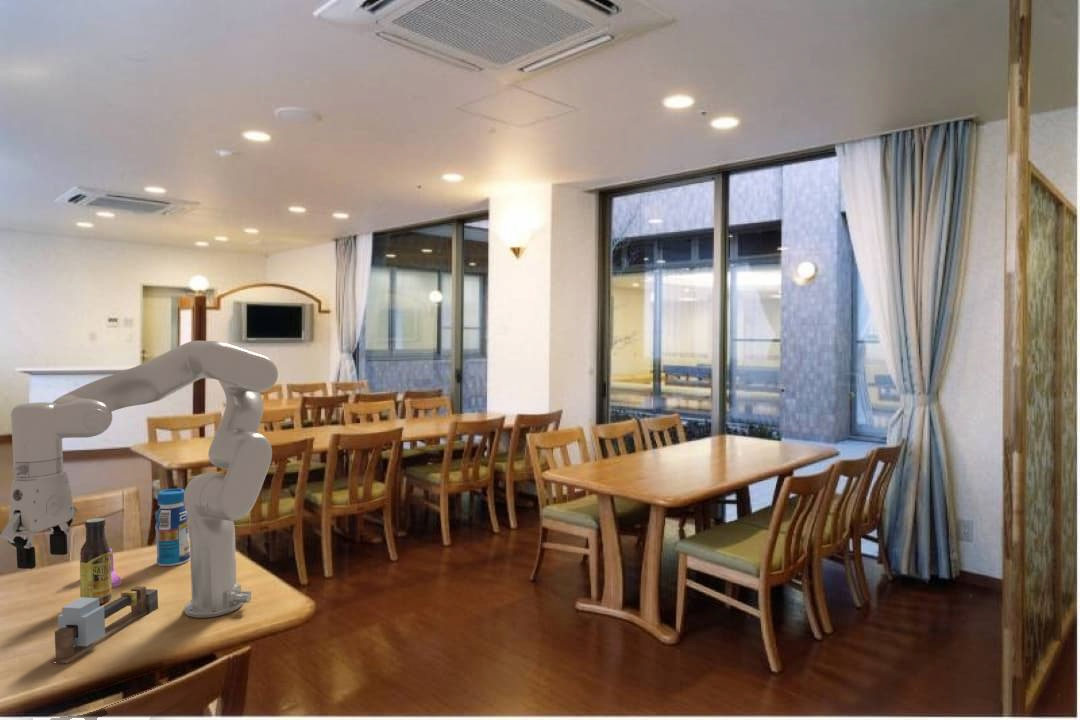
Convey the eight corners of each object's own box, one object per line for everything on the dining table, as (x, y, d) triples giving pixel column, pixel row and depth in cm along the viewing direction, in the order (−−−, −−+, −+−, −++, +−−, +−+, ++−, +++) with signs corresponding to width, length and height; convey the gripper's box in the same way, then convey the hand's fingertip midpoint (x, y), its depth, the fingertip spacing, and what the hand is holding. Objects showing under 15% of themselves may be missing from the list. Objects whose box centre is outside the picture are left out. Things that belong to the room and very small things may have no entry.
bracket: (85, 577, 177) (84, 551, 176) (110, 572, 180) (109, 546, 180) (97, 592, 167) (96, 564, 167) (123, 585, 171) (122, 559, 171)
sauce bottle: (96, 608, 157) (92, 525, 156) (74, 606, 158) (70, 523, 157) (119, 597, 164) (116, 517, 162) (97, 595, 165) (94, 515, 164)
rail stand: (158, 607, 157) (157, 580, 157) (69, 664, 132) (67, 631, 131) (142, 607, 158) (141, 580, 158) (50, 663, 132) (49, 631, 132)
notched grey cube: (105, 634, 140) (103, 598, 139) (86, 646, 135) (84, 608, 134) (78, 633, 140) (77, 597, 140) (59, 645, 135) (57, 607, 135)
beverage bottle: (151, 562, 187) (148, 491, 186) (183, 554, 194) (180, 486, 193) (163, 569, 182) (161, 496, 181) (195, 561, 188) (193, 490, 187)
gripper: (16, 479, 118) (21, 579, 119) (92, 459, 135) (96, 546, 136) (-22, 478, 119) (-17, 577, 120) (58, 458, 136) (62, 545, 137)
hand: (43, 560), depth 128 cm, fingers open, 6 cm apart
